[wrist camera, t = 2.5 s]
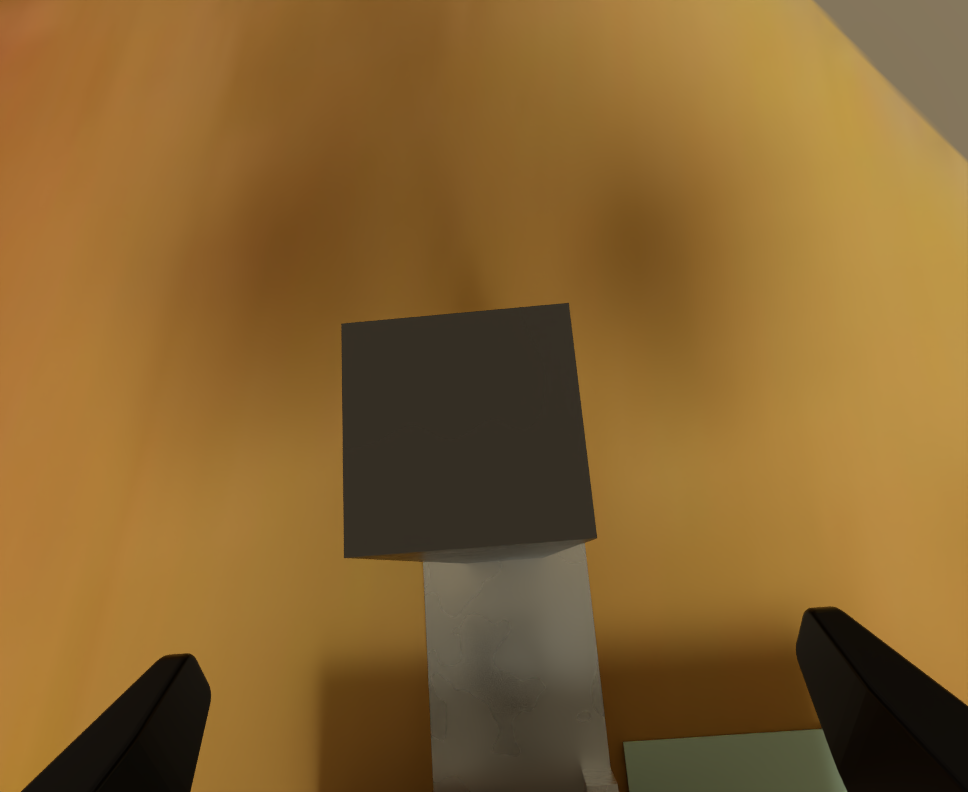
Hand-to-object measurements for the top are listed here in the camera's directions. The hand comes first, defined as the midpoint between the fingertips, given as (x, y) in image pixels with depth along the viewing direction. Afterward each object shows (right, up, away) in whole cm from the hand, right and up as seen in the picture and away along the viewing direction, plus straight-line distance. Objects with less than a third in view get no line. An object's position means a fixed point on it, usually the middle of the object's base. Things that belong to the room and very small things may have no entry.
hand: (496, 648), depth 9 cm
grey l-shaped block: (+1, -6, +9) cm, 11 cm away
